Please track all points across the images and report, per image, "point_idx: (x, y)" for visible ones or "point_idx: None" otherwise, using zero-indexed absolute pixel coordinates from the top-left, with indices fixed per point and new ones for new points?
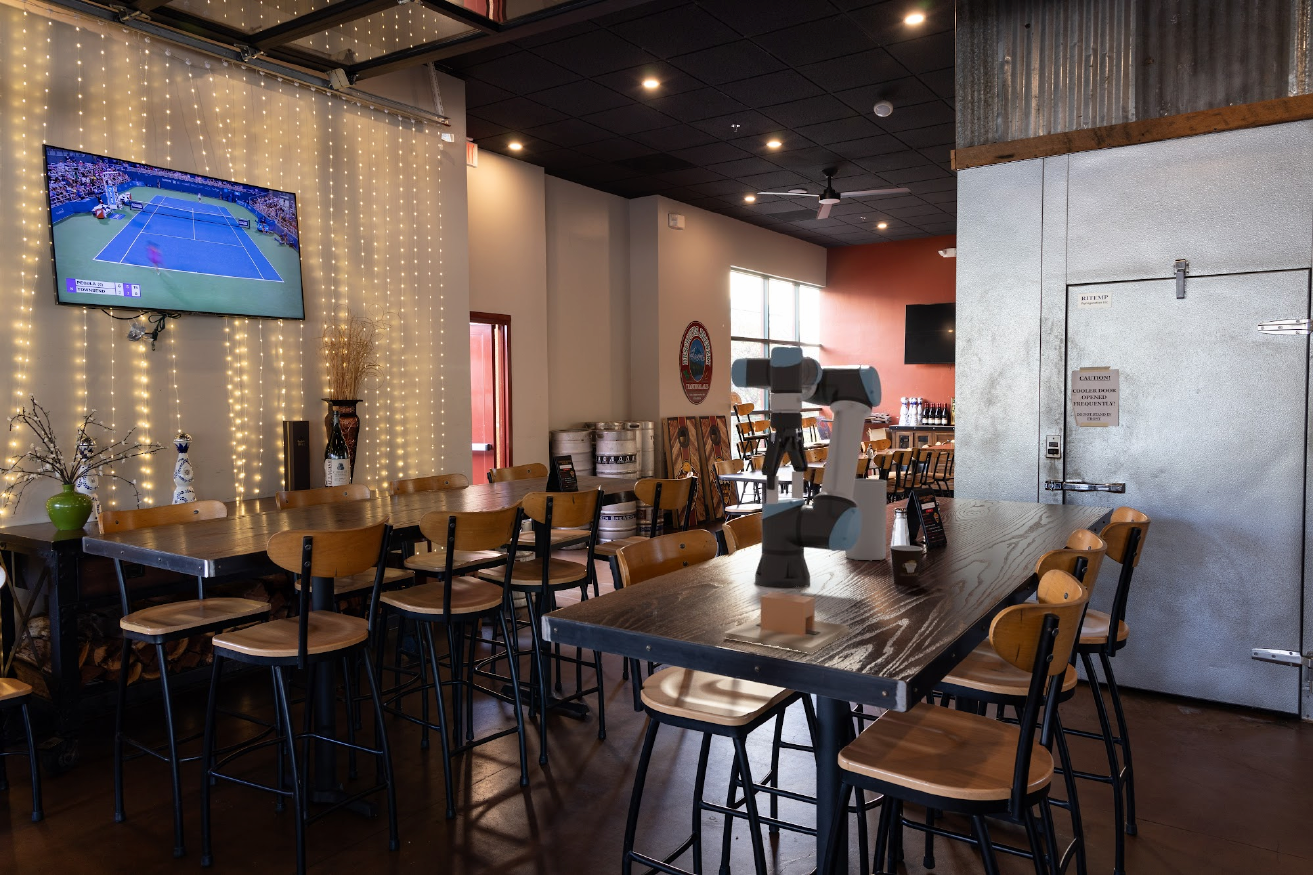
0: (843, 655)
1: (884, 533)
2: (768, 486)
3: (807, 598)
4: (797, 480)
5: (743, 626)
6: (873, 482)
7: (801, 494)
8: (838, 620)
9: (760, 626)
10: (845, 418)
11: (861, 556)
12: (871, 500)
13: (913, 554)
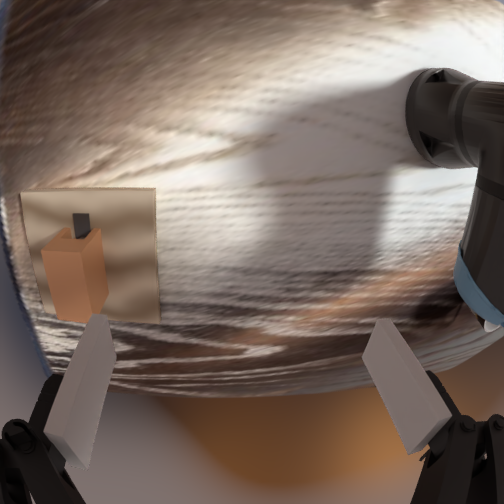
0: (73, 334)
1: None
2: (47, 392)
3: (82, 316)
4: (403, 404)
5: (58, 199)
6: None
7: (369, 369)
8: (221, 286)
9: (73, 221)
10: None
11: None
12: None
13: (481, 324)
